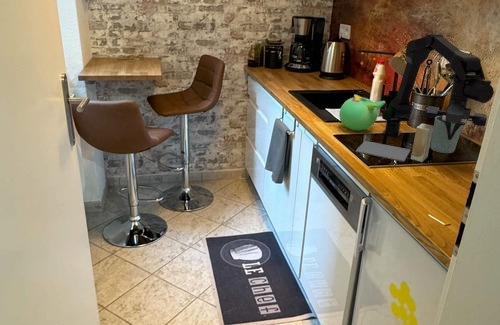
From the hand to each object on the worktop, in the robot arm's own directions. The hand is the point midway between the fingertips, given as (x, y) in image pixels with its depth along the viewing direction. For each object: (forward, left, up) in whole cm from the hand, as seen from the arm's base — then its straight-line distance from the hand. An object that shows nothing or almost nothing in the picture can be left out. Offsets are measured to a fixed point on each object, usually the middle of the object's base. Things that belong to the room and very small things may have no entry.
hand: (449, 139), depth 140 cm
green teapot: (-21, -37, -9) cm, 43 cm away
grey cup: (-15, -2, -9) cm, 18 cm away
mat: (0, -21, -9) cm, 23 cm away
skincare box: (0, -8, -9) cm, 12 cm away
